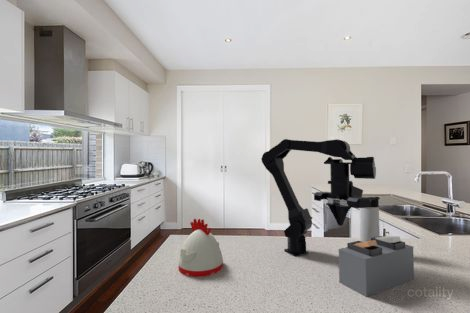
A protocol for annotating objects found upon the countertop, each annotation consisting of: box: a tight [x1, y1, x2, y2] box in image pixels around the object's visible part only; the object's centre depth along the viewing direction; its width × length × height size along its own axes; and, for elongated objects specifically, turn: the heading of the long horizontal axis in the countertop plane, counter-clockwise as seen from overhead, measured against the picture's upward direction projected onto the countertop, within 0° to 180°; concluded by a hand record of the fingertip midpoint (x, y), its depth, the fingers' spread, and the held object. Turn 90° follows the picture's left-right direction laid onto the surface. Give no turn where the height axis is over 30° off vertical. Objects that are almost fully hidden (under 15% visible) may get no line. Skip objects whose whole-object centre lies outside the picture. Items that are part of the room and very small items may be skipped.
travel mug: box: [358, 196, 381, 242], centre depth 89 cm, size 6×7×20 cm
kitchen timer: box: [178, 218, 224, 278], centre depth 78 cm, size 14×14×15 cm
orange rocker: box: [353, 240, 377, 248], centre depth 66 cm, size 5×3×1 cm, turn 26°
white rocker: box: [375, 235, 401, 243], centre depth 70 cm, size 5×3×1 cm, turn 26°
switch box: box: [338, 235, 415, 297], centre depth 68 cm, size 8×20×10 cm, turn 116°
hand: (340, 225), depth 81 cm, fingers closed
